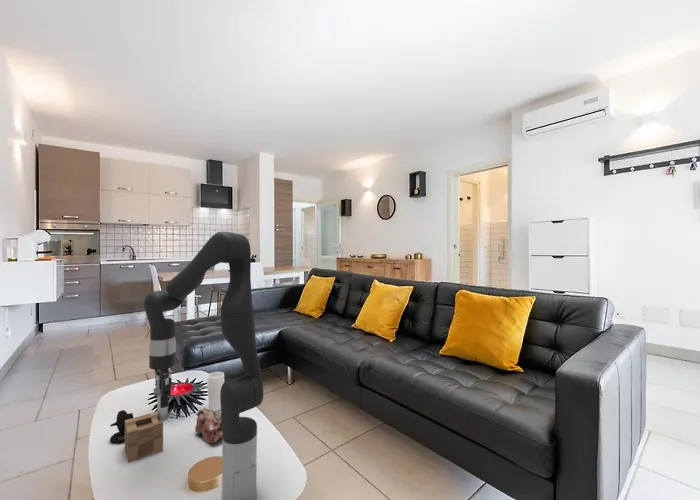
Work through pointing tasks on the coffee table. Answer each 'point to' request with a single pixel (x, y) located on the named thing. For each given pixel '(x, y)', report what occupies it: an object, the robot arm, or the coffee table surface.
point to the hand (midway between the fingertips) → (162, 403)
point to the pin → (161, 412)
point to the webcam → (120, 427)
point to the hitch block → (143, 436)
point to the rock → (209, 424)
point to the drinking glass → (215, 389)
